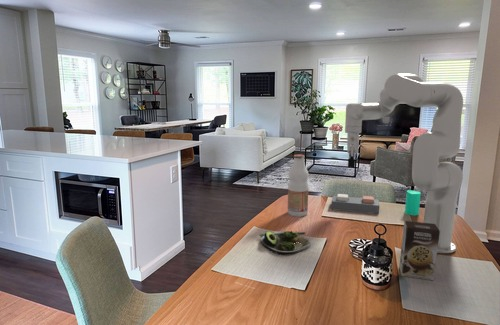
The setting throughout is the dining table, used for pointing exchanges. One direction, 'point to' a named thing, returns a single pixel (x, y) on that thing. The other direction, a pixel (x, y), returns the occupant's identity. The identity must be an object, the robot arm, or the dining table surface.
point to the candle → (412, 202)
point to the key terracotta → (368, 199)
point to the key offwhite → (342, 197)
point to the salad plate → (284, 242)
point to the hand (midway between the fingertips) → (351, 167)
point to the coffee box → (419, 250)
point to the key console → (355, 205)
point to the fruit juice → (298, 188)
